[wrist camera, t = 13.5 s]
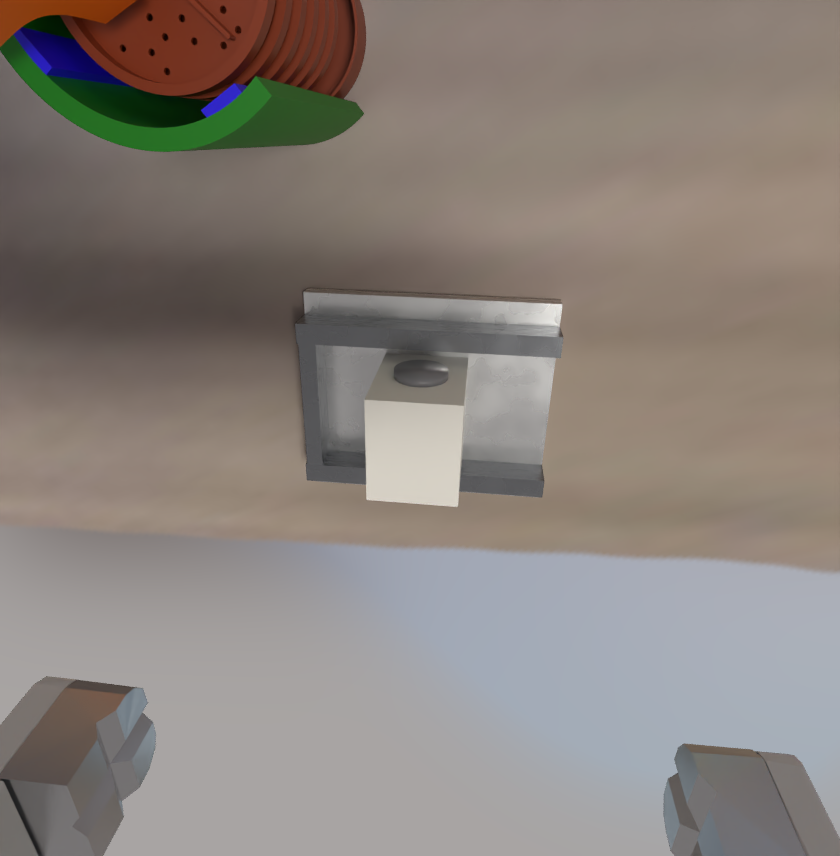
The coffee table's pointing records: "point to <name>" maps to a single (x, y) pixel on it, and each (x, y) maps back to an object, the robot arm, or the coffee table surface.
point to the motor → (191, 68)
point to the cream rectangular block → (416, 429)
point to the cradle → (434, 336)
